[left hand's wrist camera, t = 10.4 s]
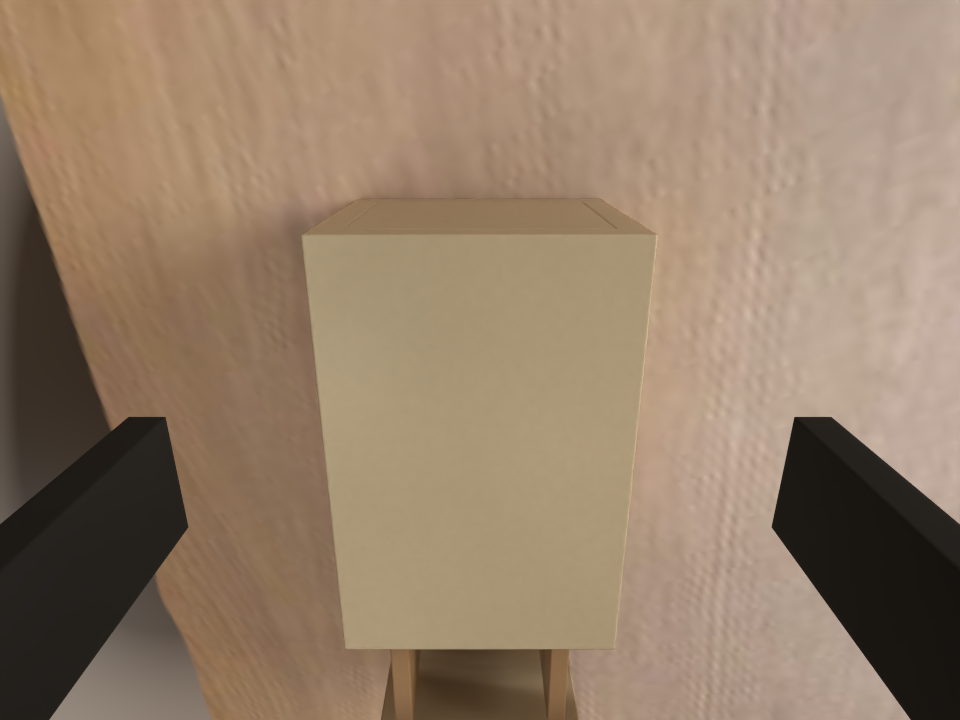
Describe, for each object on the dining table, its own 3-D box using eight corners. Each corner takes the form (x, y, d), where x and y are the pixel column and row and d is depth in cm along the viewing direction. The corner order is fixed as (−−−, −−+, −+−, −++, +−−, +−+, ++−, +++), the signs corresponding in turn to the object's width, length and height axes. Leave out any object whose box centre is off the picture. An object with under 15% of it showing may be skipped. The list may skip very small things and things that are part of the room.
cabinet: (579, 512, 33) (615, 650, 24) (380, 512, 33) (344, 650, 24) (601, 198, 27) (658, 234, 18) (357, 198, 27) (299, 234, 18)
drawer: (558, 723, 37) (575, 854, 31) (401, 724, 37) (384, 854, 31) (578, 409, 30) (607, 492, 23) (380, 409, 30) (351, 493, 23)
